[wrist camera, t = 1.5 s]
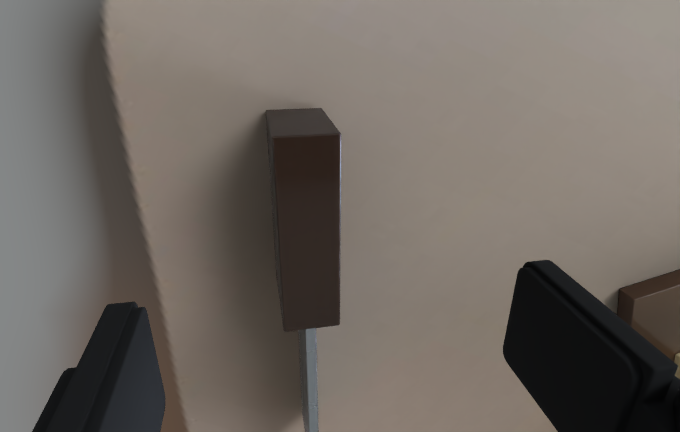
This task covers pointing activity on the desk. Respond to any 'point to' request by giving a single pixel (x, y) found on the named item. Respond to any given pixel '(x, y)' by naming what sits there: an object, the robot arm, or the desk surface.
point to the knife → (306, 232)
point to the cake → (679, 361)
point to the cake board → (654, 311)
